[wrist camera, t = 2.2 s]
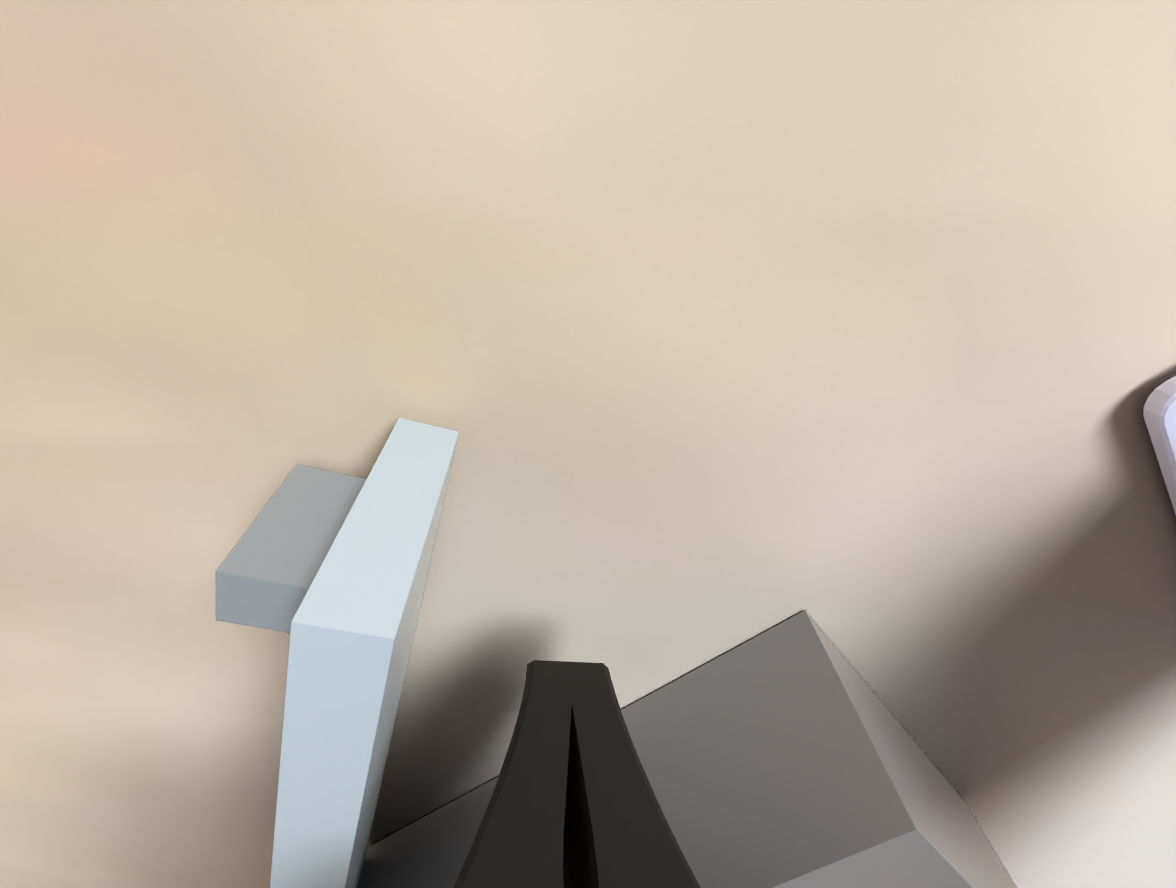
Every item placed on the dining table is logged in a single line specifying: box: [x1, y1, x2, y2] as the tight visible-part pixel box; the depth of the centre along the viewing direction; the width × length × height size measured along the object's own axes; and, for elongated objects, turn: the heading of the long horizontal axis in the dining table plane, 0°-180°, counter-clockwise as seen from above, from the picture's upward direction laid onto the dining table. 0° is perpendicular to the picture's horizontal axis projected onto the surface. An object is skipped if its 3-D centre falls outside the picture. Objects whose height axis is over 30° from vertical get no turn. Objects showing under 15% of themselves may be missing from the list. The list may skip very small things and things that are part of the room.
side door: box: [216, 418, 459, 888], centre depth 11 cm, size 14×2×4 cm, turn 163°
